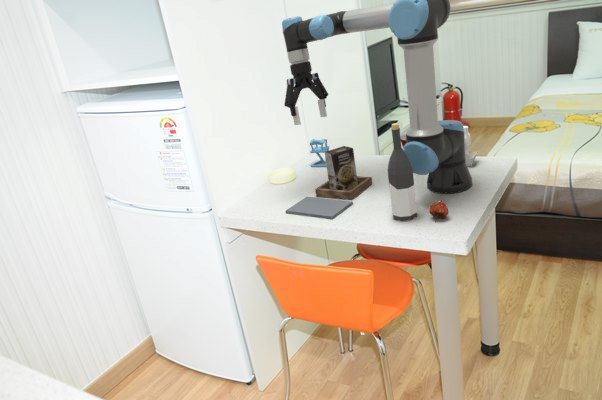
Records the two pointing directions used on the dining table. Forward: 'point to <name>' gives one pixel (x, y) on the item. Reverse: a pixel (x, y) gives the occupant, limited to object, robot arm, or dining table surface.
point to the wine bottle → (401, 181)
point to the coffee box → (341, 168)
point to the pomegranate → (438, 210)
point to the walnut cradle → (345, 195)
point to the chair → (319, 150)
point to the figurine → (468, 155)
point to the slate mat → (319, 207)
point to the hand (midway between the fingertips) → (311, 120)
